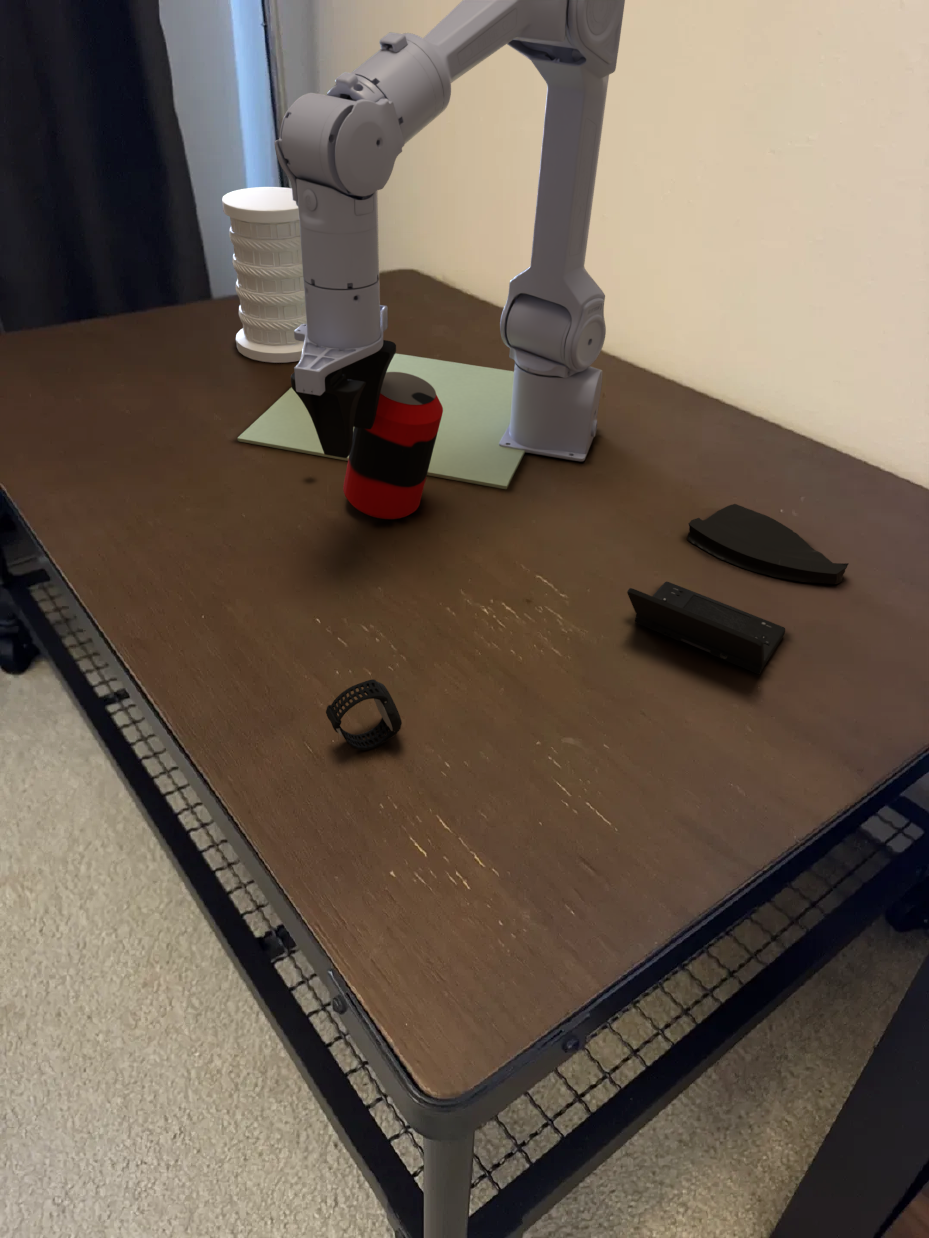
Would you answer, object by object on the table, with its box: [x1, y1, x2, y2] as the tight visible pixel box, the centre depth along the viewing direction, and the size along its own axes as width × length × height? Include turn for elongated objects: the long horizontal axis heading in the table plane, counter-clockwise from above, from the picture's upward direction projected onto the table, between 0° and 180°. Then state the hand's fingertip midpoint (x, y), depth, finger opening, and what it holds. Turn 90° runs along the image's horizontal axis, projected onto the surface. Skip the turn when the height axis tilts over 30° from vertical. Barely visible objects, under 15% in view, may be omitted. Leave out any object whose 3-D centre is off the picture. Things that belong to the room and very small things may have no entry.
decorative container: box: [221, 186, 307, 364], centre depth 113 cm, size 12×12×18 cm
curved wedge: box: [686, 503, 850, 585], centre depth 84 cm, size 8×14×2 cm, turn 41°
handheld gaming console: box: [626, 581, 786, 675], centre depth 72 cm, size 12×7×10 cm
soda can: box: [342, 372, 443, 520], centre depth 84 cm, size 8×8×12 cm
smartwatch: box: [325, 678, 403, 751], centre depth 63 cm, size 4×5×5 cm
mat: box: [236, 352, 526, 490], centre depth 105 cm, size 30×28×1 cm
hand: (349, 440), depth 77 cm, fingers open, 5 cm apart
